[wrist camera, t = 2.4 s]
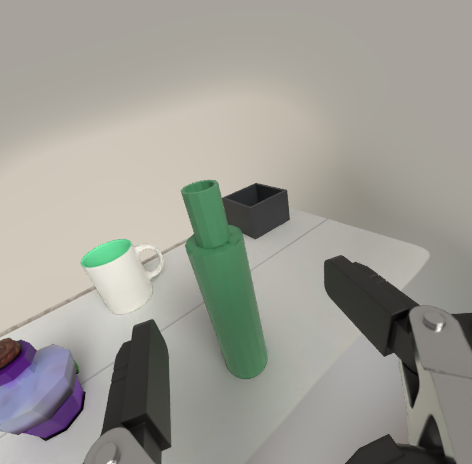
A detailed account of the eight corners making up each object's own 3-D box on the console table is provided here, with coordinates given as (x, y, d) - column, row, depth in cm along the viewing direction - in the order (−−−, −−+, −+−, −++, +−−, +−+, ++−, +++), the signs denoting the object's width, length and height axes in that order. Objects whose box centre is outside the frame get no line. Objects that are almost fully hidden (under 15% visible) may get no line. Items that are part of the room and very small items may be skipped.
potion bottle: (110, 371, 32) (63, 309, 27) (73, 455, 25) (-4, 393, 19) (52, 379, 33) (-7, 320, 27) (-2, 462, 26) (-98, 405, 20)
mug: (161, 267, 52) (143, 225, 47) (178, 283, 46) (159, 238, 41) (104, 299, 46) (77, 255, 41) (115, 322, 40) (84, 274, 35)
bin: (260, 209, 68) (256, 182, 64) (289, 219, 59) (287, 189, 56) (228, 225, 63) (221, 198, 59) (255, 239, 54) (250, 208, 51)
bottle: (257, 334, 33) (221, 171, 22) (274, 368, 29) (239, 186, 18) (222, 348, 32) (165, 186, 21) (233, 386, 28) (169, 206, 17)
